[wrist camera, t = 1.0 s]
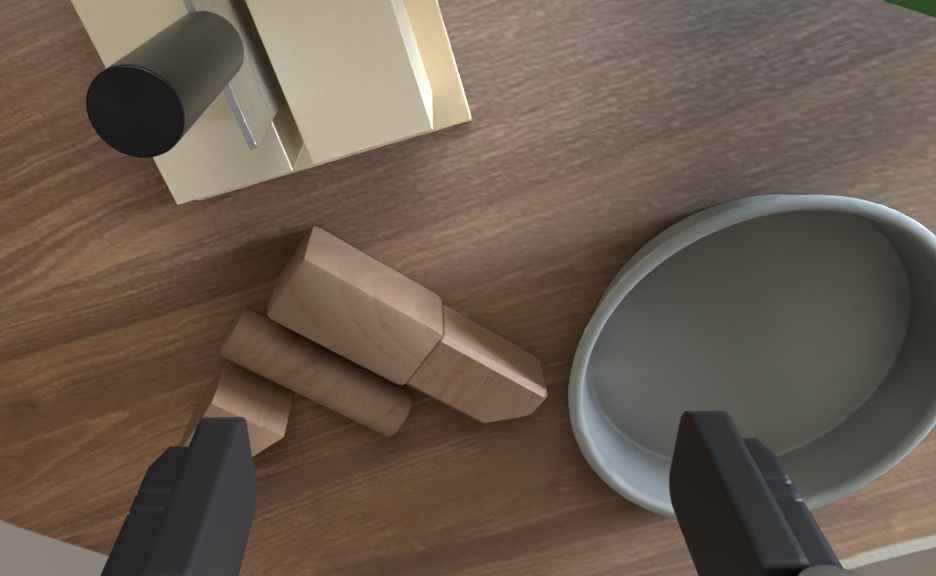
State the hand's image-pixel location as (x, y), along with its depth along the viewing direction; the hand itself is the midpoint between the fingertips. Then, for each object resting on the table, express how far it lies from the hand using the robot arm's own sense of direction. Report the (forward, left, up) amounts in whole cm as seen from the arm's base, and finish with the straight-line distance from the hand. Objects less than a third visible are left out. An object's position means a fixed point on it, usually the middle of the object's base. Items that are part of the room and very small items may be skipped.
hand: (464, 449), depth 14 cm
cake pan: (+23, +14, -31) cm, 41 cm away
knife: (-6, -7, -24) cm, 26 cm away
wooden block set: (+18, -11, -31) cm, 38 cm away
